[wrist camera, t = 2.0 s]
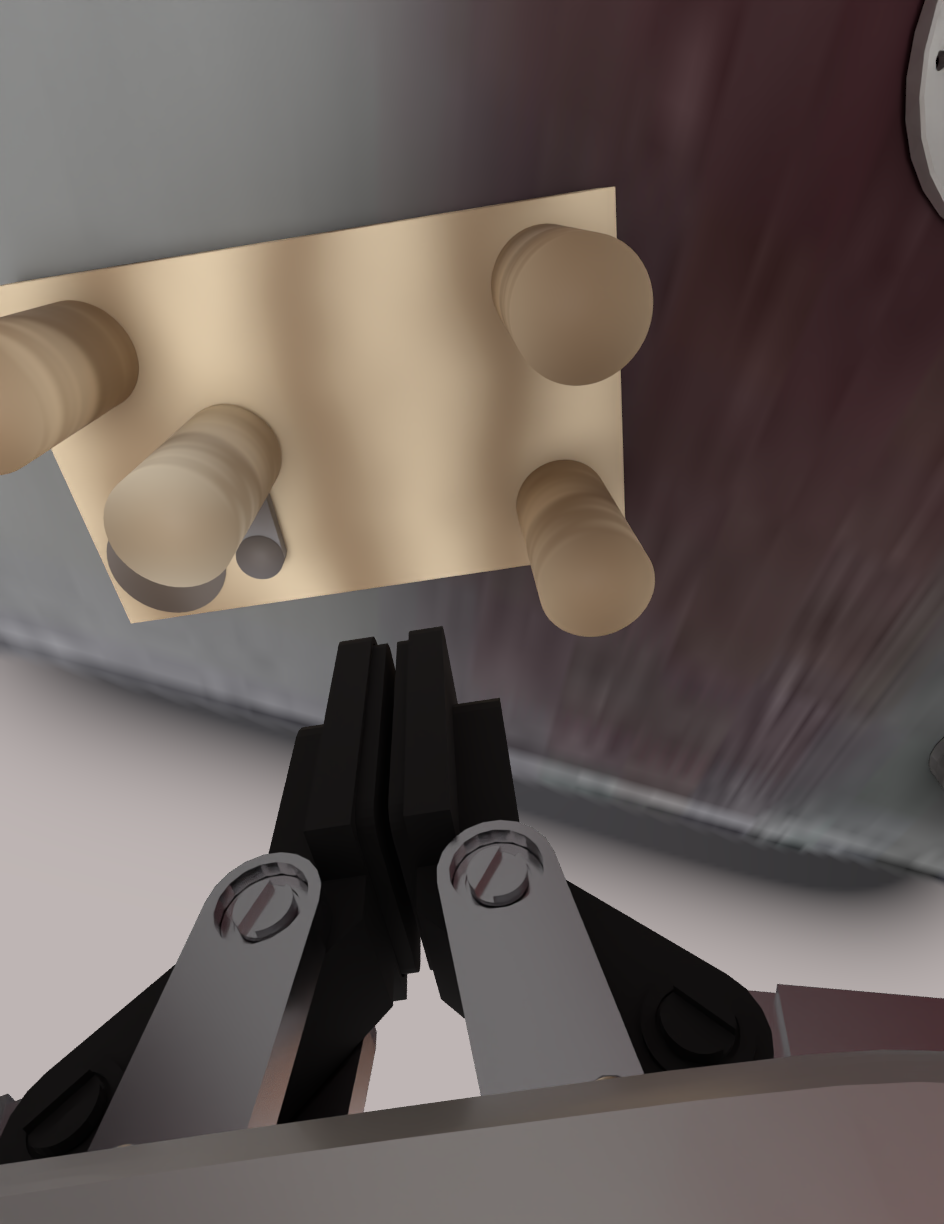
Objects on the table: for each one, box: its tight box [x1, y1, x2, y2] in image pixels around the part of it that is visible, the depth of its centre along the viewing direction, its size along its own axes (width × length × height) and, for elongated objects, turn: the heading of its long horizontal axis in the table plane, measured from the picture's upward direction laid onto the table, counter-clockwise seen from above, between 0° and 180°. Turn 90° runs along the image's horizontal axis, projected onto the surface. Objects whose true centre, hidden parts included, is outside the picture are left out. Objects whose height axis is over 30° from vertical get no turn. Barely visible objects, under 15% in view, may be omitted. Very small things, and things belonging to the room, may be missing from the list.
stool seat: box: [0, 187, 655, 637], centre depth 24 cm, size 21×13×10 cm, turn 98°
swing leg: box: [103, 405, 287, 587], centre depth 24 cm, size 7×4×7 cm, turn 8°
